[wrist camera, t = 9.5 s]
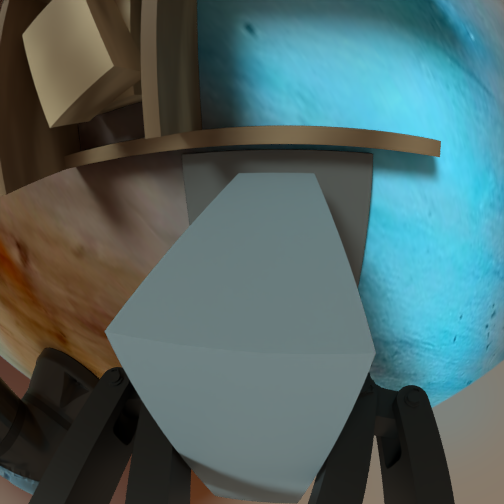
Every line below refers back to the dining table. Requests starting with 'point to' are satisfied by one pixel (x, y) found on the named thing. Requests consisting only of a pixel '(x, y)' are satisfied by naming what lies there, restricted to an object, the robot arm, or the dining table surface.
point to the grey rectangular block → (250, 339)
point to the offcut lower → (131, 14)
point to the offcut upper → (80, 58)
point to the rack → (153, 100)
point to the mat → (292, 161)
